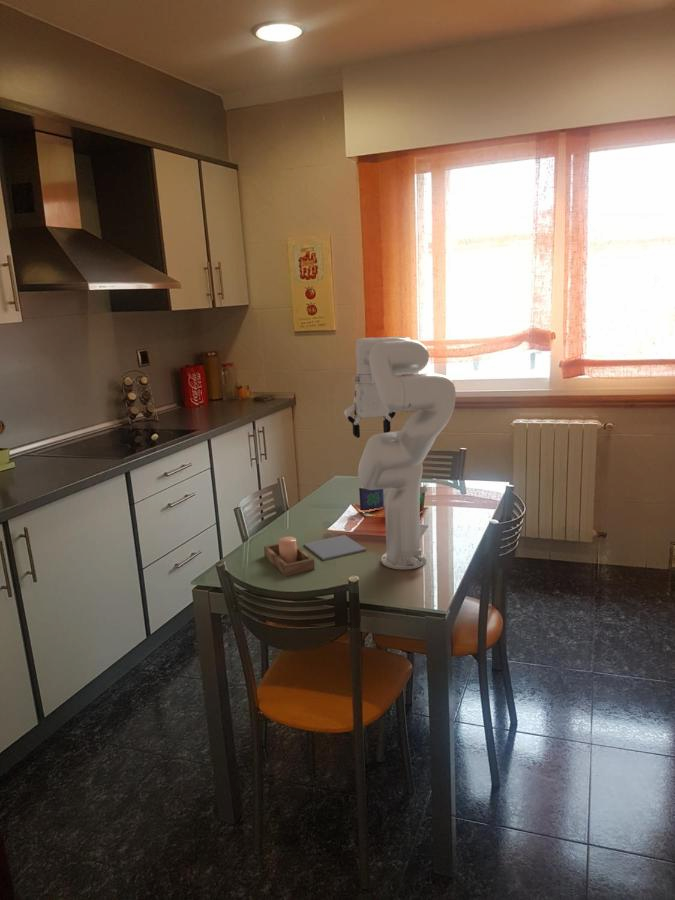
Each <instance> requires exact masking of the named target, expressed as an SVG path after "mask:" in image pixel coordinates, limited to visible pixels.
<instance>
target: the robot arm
mask: <svg viewBox="0 0 675 900" xmlns="http://www.w3.org/2000/svg"><path fill="white" fill-rule="evenodd" d="M355 357H356V360H355V361H356V375H355V376H352V381H353V382H356V383H357V384H355V386H354V392H353V404H351V405H350V406H348V407H347V408H345V409H344V410H343V414H344V416H345V417H346V419H347V420H348V421H349V422H350V424H351V425H352V434H353V436H354V437H355V438H357V439H358V438H361V432H360V426H361V425H360V424H359V422H360V421H361V419H372V418H380V417H382V418H384V420H383V422H382V424H383V425H382V426H383V432H380V433H376V434H373V435H372V436H370V437H369V439H368V440H367V441H366V444H365V447H364V450H363V452H362V454H361V458H360V459H359V463H358V469H357V477H358V482H359V484H360V485H361V487H364V488H365V489H368V490H379V489H383V490H384V489H390V490H389V492H388V493H387V495H386V498H385V501H384V514H385V515H384V518H385V546H386V552H385V553H384V554H382V556H381V559H380V561H381V562H380V563H381V564H382V565H383V566H385V567H386V568H390V569H393V570H405V571H406V570H414V569H417V568H420V567H423V566H424V565H425V564H426V563H427V555H425V553H423V552H422V548H421V518H420V517H421V515H420V487H421V482H422V476H423V461H424V460H426V457H427V455H428V453H429V452H430V450H431V448H432V447H433V445H434V443H435V441H436V438H437V437H438V436H439V435H440V433H441V432H442V431H443V430H444V429H445V427H446V426H447V424H449V421H450V419H451V418H452V415H453V413H454V409H455V407H456V397H457V396H456V395H457V393H456V387H455V384H454V382H453V380H452V379H451V378H449V377H448V376H446V375H444V374H441V373H420V371H422V370H424V369H425V367H426V366H427V365H428V362H429V358H430V355H429V351H428V348H427V347H426V346H425V344H423V343H422V342H421V341H418V340H416V339H411V338H410V337H409V336H408V337H407V336H386V337H385V336H384V337H363V338H358V339H357V340H356V342H355ZM418 372H419V373H418ZM416 373H418V374H416ZM409 411H410V412H411V411H416V412H414V413H413V414H411V416H410V417H409V418H407V420H406V421H405V423H404V424H403V426H402V428H401V430H396V431H391V422H392V420H393V418H394V417H395V416H396V413H397V412H398V413H400V412H409ZM352 412H353V415H354V416H353V417H352V416H351V413H352Z"/></svg>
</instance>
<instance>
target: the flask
mask: <svg viewBox="0 0 675 900" xmlns="http://www.w3.org/2000/svg"><path fill="white" fill-rule="evenodd" d="M384 496H385V493H384V489H379V490H368V489H365V488H364V487H363V486H360V487H359V509H360V510H369V509H374V508H380V507H384V508H385V501H384V500H385V499H384V498H385V497H384Z"/></svg>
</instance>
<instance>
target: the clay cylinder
mask: <svg viewBox="0 0 675 900" xmlns="http://www.w3.org/2000/svg"><path fill="white" fill-rule="evenodd" d="M278 543H279V554H278V555H279V557H280V558H281V559H282V560H283V561H285V562H286V563H287V564H289V563H293V562H298V561H299V559H298V558H297V546H298V544H297V538H296V537H294V536H282V537H280V538H279V539H278Z"/></svg>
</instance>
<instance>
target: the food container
mask: <svg viewBox="0 0 675 900" xmlns="http://www.w3.org/2000/svg"><path fill="white" fill-rule="evenodd" d="M426 492H428V487H427V485H426V484H424V485H422V486H420V512H421V511H423V510H424V509H425V499H426ZM423 512H424V511H423Z"/></svg>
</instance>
